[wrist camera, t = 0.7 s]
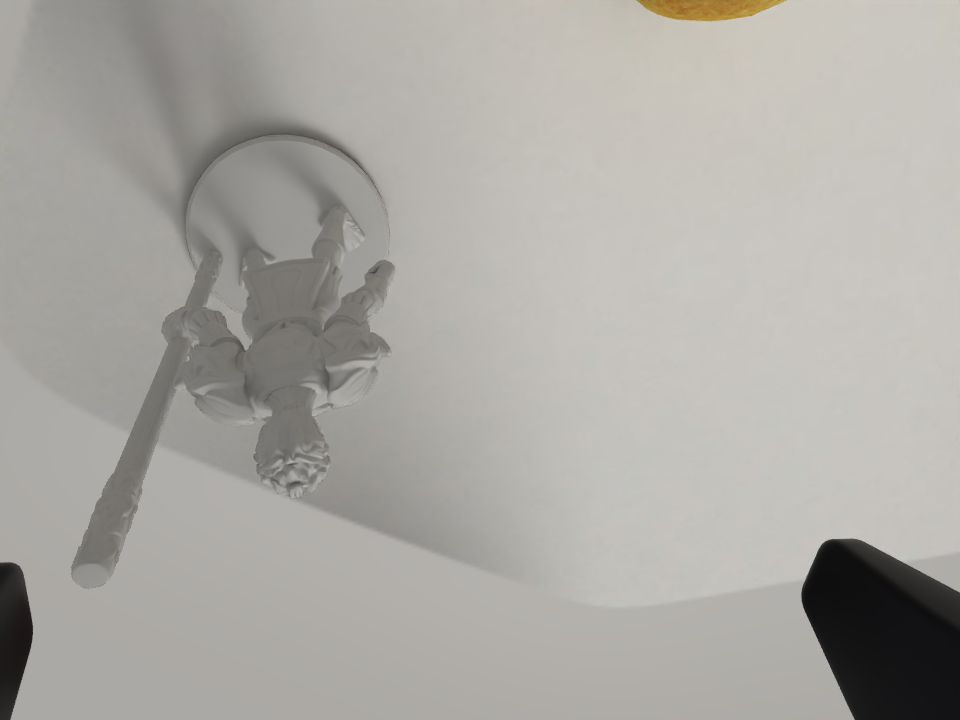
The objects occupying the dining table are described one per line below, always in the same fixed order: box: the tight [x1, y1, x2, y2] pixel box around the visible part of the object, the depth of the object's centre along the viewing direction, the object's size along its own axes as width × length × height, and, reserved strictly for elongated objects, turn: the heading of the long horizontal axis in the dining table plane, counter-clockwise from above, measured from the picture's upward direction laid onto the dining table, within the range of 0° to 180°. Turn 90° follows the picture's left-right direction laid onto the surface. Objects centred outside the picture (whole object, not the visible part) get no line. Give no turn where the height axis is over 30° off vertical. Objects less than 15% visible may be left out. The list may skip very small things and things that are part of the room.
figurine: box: [71, 134, 395, 589], centre depth 14 cm, size 5×5×12 cm
